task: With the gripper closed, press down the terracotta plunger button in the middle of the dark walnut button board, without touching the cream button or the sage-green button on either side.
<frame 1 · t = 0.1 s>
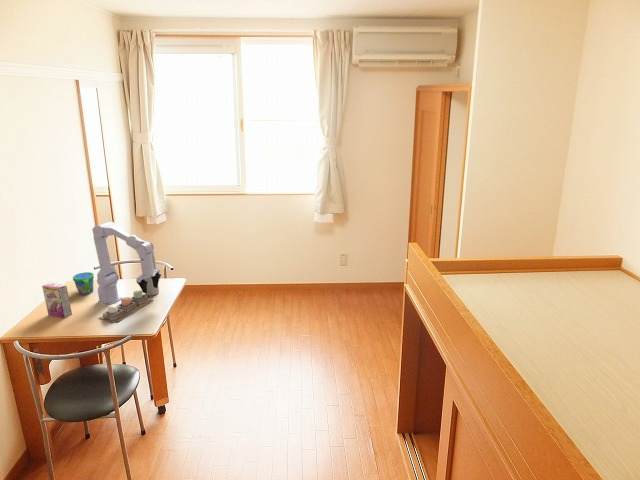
hand: (150, 290, 232), 10 cm above the table, fingers open, 7 cm apart
water bottle: (151, 293, 253), on the table
button board: (127, 309, 233), on the table
snack cup: (86, 292, 255), on the table
candy bar box: (60, 315, 228), on the table
cream button: (112, 309, 224), point 4 cm above the table, slide at 0.0 cm
terracotta button: (126, 302, 232), point 4 cm above the table, slide at 0.0 cm
sage button: (138, 295, 240), point 4 cm above the table, slide at 0.0 cm
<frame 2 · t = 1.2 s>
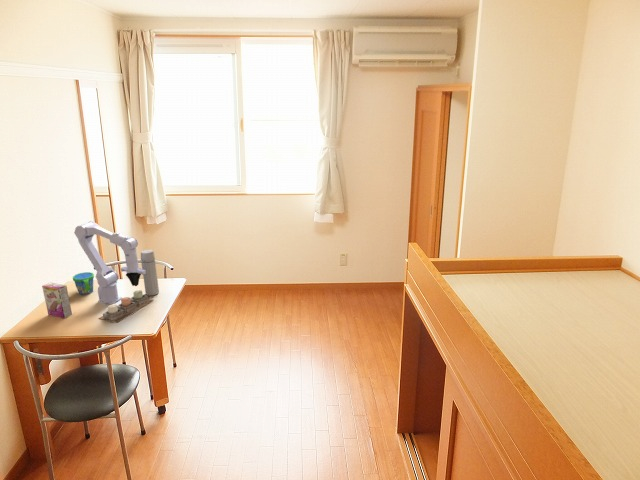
hand: (135, 285, 237), 10 cm above the table, fingers closed
nothing on the table moved.
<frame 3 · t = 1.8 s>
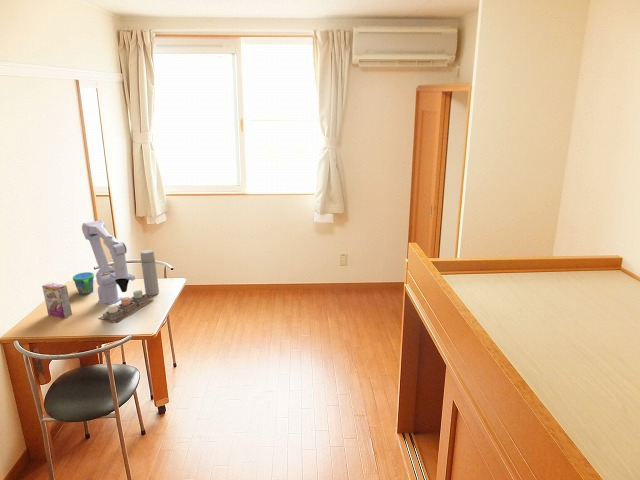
hand: (124, 291, 230), 10 cm above the table, fingers closed
nothing on the table moved.
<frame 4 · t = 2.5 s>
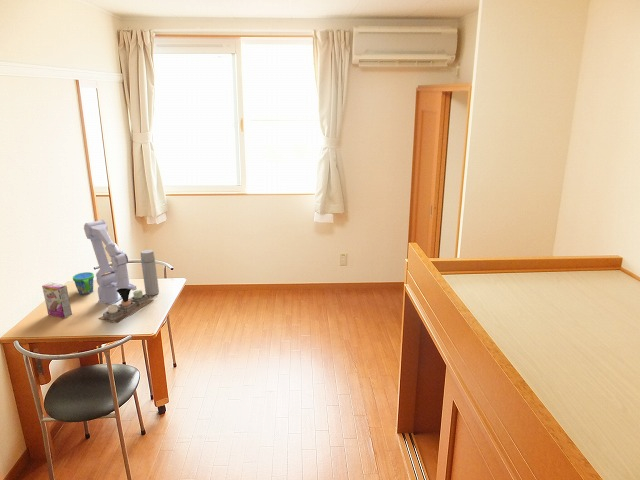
hand: (125, 301, 232), 5 cm above the table, fingers closed, pressing on terracotta button
terracotta button: (126, 304, 232), point 3 cm above the table, slide at 1.1 cm, touching gripper
everything else where it was.
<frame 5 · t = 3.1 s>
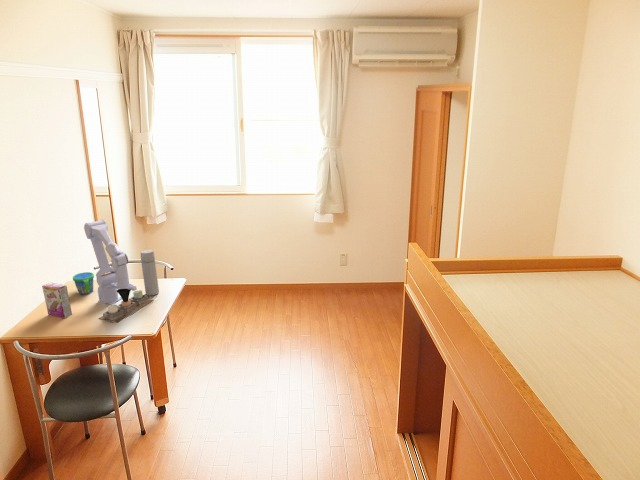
hand: (125, 301, 232), 5 cm above the table, fingers closed, pressing on terracotta button
terracotta button: (126, 304, 233), point 3 cm above the table, slide at 1.3 cm, touching gripper
everything else where it was.
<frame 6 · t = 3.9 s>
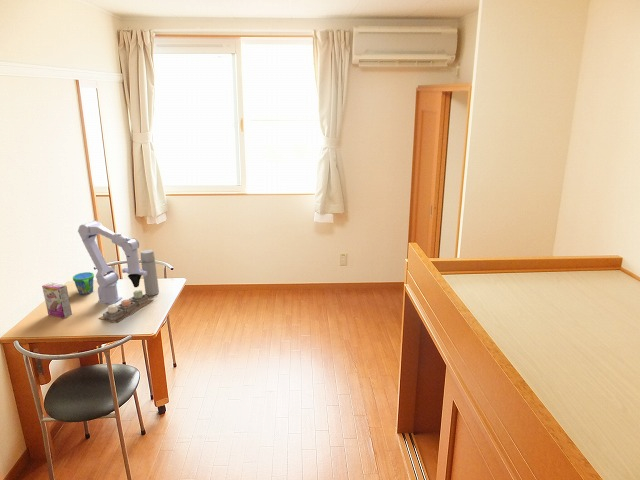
hand: (136, 286, 236), 10 cm above the table, fingers closed
terracotta button: (126, 304, 233), point 3 cm above the table, slide at 1.3 cm
everything else where it was.
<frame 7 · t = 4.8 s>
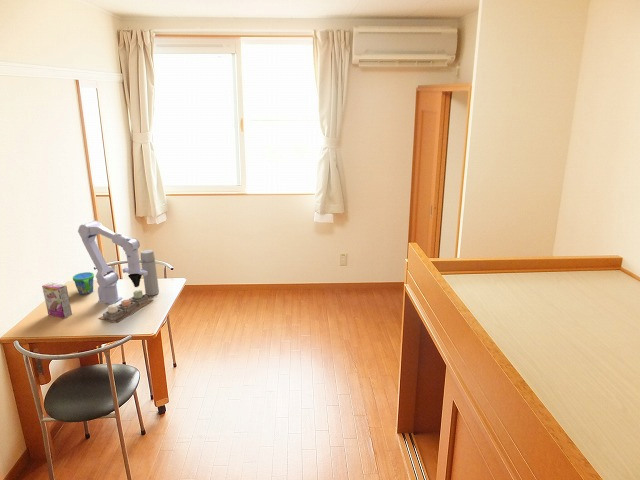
hand: (137, 286, 236), 10 cm above the table, fingers closed
nothing on the table moved.
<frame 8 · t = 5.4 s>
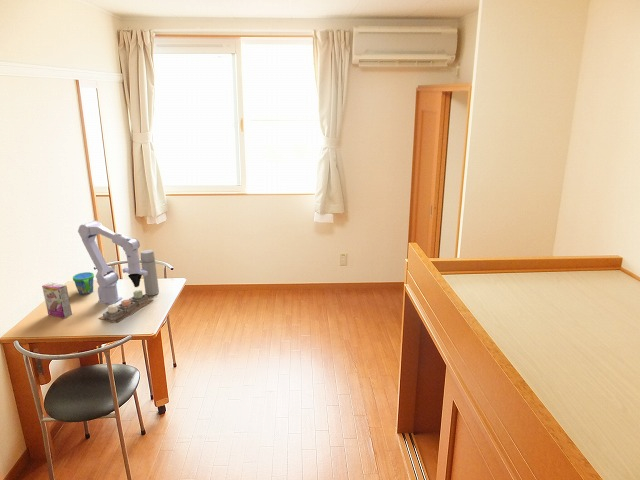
hand: (137, 286, 236), 10 cm above the table, fingers closed
nothing on the table moved.
at the end: terracotta button slide at 1.3 cm; cream button slide at 0.0 cm; sage button slide at 0.0 cm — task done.
